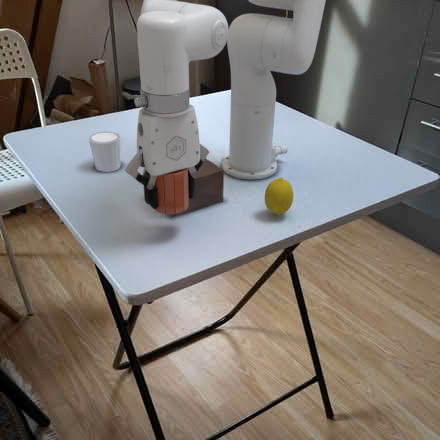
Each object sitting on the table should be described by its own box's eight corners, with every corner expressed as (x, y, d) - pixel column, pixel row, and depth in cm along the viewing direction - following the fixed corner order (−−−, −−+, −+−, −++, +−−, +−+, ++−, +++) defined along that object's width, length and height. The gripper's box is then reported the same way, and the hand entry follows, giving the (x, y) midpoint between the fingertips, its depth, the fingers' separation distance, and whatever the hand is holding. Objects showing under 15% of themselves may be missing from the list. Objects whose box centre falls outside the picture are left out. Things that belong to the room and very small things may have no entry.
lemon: (271, 224, 100) (274, 186, 95) (258, 211, 104) (261, 174, 99) (296, 218, 102) (300, 181, 97) (282, 205, 106) (286, 169, 101)
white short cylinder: (117, 174, 116) (113, 144, 112) (88, 171, 117) (83, 141, 112) (127, 161, 121) (124, 132, 117) (99, 158, 122) (95, 129, 118)
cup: (176, 193, 98) (175, 155, 93) (195, 207, 94) (195, 169, 89) (145, 202, 95) (142, 163, 90) (163, 217, 91) (161, 178, 86)
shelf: (198, 183, 113) (198, 152, 109) (223, 201, 107) (223, 170, 103) (149, 197, 108) (147, 166, 103) (172, 217, 102) (171, 185, 97)
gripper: (126, 117, 76) (136, 222, 87) (224, 97, 84) (221, 196, 95) (105, 102, 81) (117, 204, 92) (199, 85, 89) (199, 181, 100)
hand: (170, 199), depth 94 cm, fingers closed on cup, 6 cm apart
